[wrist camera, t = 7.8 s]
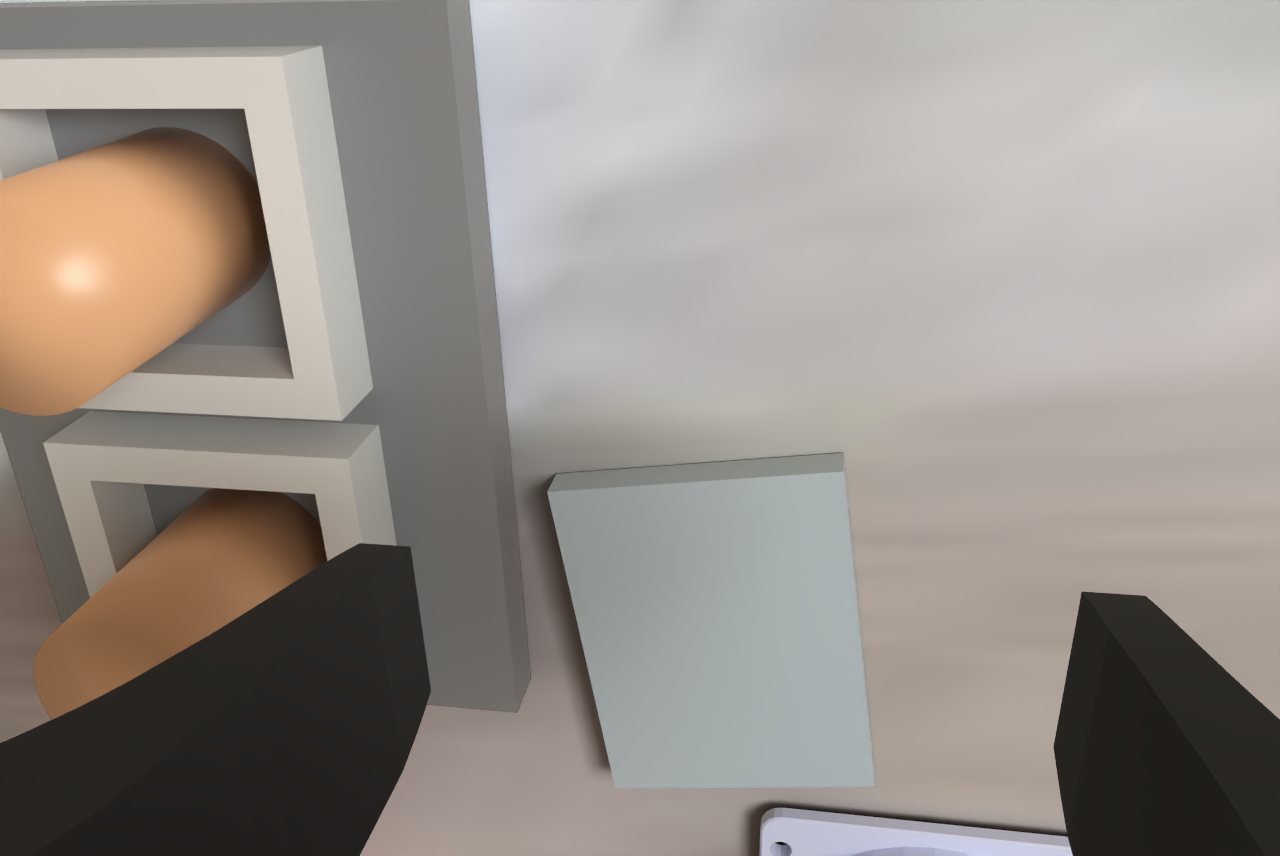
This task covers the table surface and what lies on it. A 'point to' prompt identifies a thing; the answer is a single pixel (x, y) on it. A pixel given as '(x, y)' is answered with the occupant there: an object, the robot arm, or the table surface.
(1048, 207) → the table surface
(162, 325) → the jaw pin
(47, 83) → the housing
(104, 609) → the jaw pin
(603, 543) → the lid
